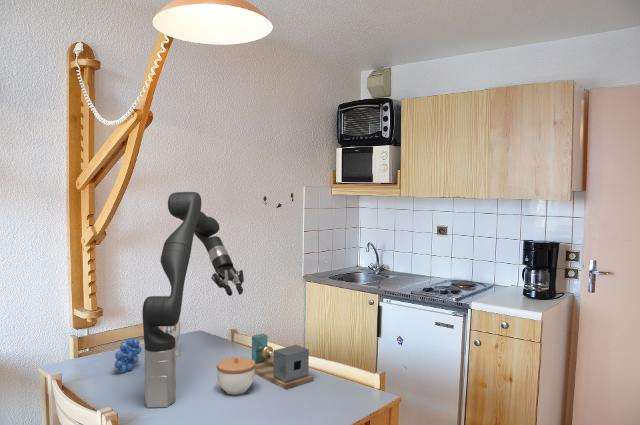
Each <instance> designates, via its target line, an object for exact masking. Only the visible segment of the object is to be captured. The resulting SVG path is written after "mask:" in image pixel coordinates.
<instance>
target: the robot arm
mask: <svg viewBox="0 0 640 425" xmlns="http://www.w3.org/2000/svg"><path fill="white" fill-rule="evenodd" d="M167 209H168V212H169V214H170V215H171V216H172V217H174V218H175V219H179V220H181V221H182V223H180V225H179V226H178V227H177V228H176V229H175V230H173V232H171V234H169V236H168V237H167V238H166V240H165V242H163V246H162V251H161V255H160V264H161V267H162V270H163V272H164V274H165V275H166V278H167V279H168V282H169V284H170V294H169V295H167V296H166V295H151V296H150V295H148V296H147V297H146V298H145V299H144V302H143V304H142V311H141V312H142V325H143V326H142V329H143V341H144V342H143V343H144V404H145V405H146V408H168V407H169V406H170V405H172V404H174V402H176V400H177V399H176V398H177V397H176V394H177V393H176V392H177V390H176V389H177V386H176V385H177V382H176V376H177V375H176V374H177V373H176V368H177V367H176V365H177V364H176V361H177V360H176V357H177V356H176V340H175V337H174V336H172V335H170V334H168V333H165V332H163V331H162V328H159V327H162V326H175V325H176V324H177V323H178V321H179V318H180V317H181V312H182V305H183V304H182V303H183V297H184V289H185V280H186V277H187V272H188V267H189V264H190V258H191V253H192V247H193V241H194V235H195V236H196V238H197V239H198V240H199V241H200V242H201V243H202V244H203V246H204V247H205V250H206V252H207V254H208V257H209V260H210V262H211V265H212V268H213V269H214V271H215V272H213V274H211V275H212V276H211V277H210V278H211V280H212V281H213V282H214V284H215V285H216V286H217V287H218V288H220V289H221V288H222V289H224V290H225V293H226V294H227V295H228V297H231V296H232V295H233V293H234V292H233V290H232V288H231V286H230V285H229V282H231V284H234V286H235V289H236V291H237V293H238V295H242V294H243V291H244V289H243V287H242V285H243V283H244V281H245V280H244V279H245V278H244V270H242V269H240V270H237V269H236V268H235V266H234V262H233V261H232V259H231V257H230V255H229V253H228V250H227V249H226V247H225V245H224V243H223V241H222V239H221V238H220V237H219V236H217V235H216V234H217V233H218V232H219V231H220V223H219V222H218V221H217V219H215V218H213V217H211V216H208V215H206V214H205V213H204V212H203V211H201V210H202V196H201V194H200V193H199V192H196V191H177V192H172V193H171V194H169V196H168V198H167ZM215 235H216V236H215ZM180 319H181V318H180Z"/></svg>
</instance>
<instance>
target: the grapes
mask: <svg viewBox="0 0 640 425" xmlns="http://www.w3.org/2000/svg"><path fill="white" fill-rule="evenodd" d="M141 352H142V348H141V346H140V340H139V339H135V338H134V337H129V338H127V340H126V341H124V342H123V341H122V342H121V344H120V345H119V350H118V351H117V352H116V353H115V355H114V357H115V360H116V361H115V362H114V368H115V369H118V372H119V373H120V374H122V373H124V372H129V371H131V370H132V369H133V367H134V364H135V365H136V364H137V363H138V362H139V359H140V357H139V356H138V355H140V353H141Z"/></svg>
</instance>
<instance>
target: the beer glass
mask: <svg viewBox="0 0 640 425" xmlns="http://www.w3.org/2000/svg"><path fill="white" fill-rule="evenodd" d="M180 319H181V318H179V321H178V323H177V324H176V325H175V326H161V330H162V331H163V332H165V333H168V334H170V335H172V336H174V337H175V340H176V357H178V356H180V351H179V350H180V349H179V342H180V341H179V340H180V335H181V320H180Z"/></svg>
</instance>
